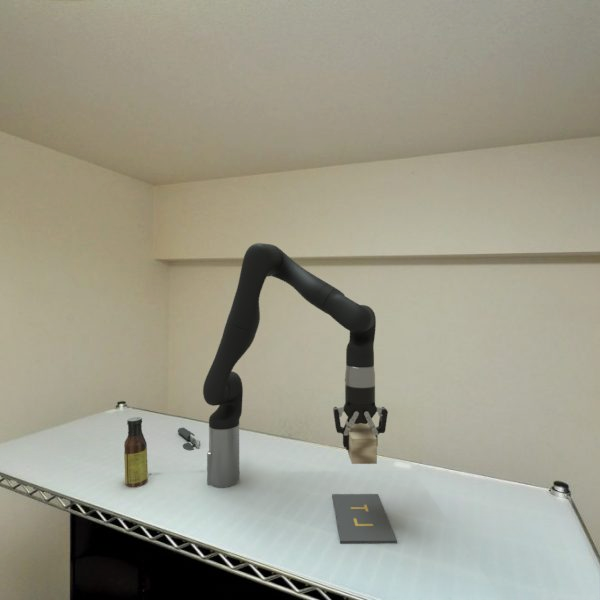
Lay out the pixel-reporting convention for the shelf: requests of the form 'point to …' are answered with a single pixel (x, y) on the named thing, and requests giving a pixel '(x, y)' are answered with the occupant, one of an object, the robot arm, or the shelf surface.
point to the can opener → (189, 439)
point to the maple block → (362, 445)
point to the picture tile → (362, 519)
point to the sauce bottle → (135, 454)
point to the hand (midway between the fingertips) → (360, 448)
